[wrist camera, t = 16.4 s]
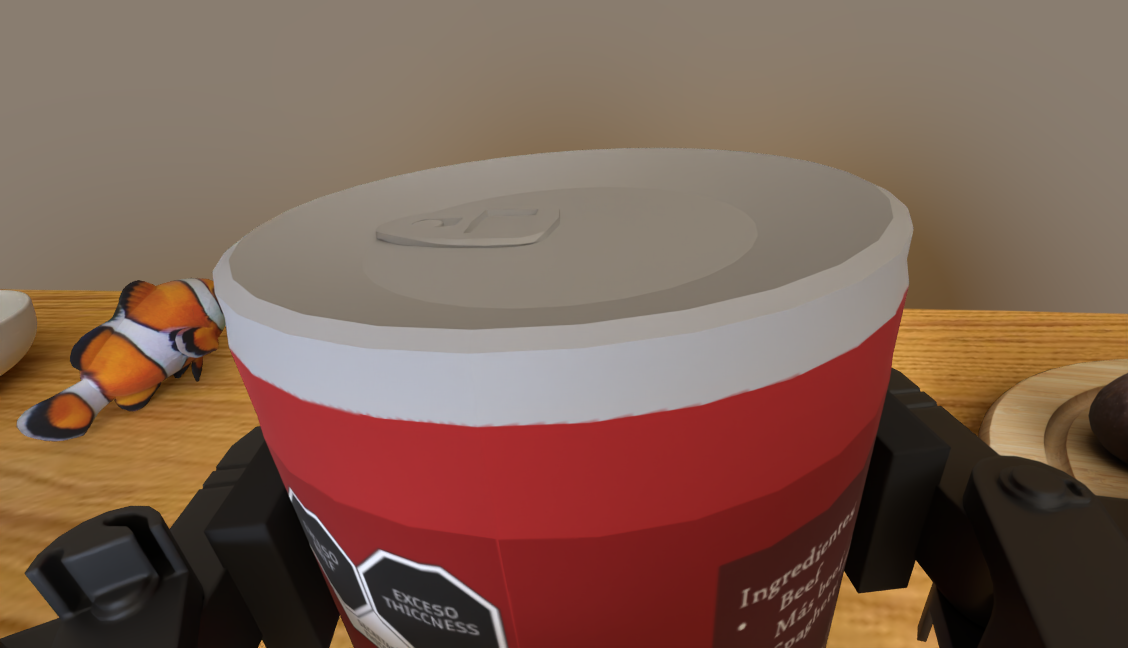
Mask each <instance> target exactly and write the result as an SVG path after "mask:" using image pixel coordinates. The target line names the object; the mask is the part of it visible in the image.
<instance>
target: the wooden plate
mask: <svg viewBox="0 0 1128 648" xmlns="http://www.w3.org/2000/svg"><path fill="white" fill-rule="evenodd" d="M978 437H979V438H980V439H981V440H982V441H984V442H985V443H986V444H987V445H988V446H990V447H991V448H992V449H993V450H994V451H996V452H997V453H998V454H999V455H1002V456H1018V457H1023V458H1027V459H1031V460H1036V461H1040V462H1042V463H1045V464H1047V465H1050V466H1052V467H1054V468H1057V469H1059V470H1062V471H1064V472H1066V473H1067V474H1069V475H1070V476H1072V477H1074V478H1075V479H1077V480H1078V481H1080V482H1082V483H1083V484H1085V485H1086V486H1087V487H1088V488H1089V489H1090V490H1091V491H1092V492H1093V493H1094V494H1095V495H1099V496H1107V497H1116V498H1124V499H1128V359H1116V360H1103V361H1094V362H1085V363H1078V364H1073V365H1068V366H1064V367H1059V368H1055V369H1051V370H1048V371H1045V372H1042V373H1039V374H1037V375H1034V376H1032V377H1029V378H1027V379H1025V380H1022V381H1021V382H1019V383H1018V384H1016V385H1015V386H1013V387H1012V388H1010V389H1009V390H1007V391H1006V392H1005V393H1004V394H1003V395H1002V396H1000V397H999V398H998V399H997V400H996V401H995V402H994V403H993V404H992V406H991V407H990V408H989V410H988V411H987V412H986V414H985V416H984V419H983V422H982V424H981V427H980V430H979V436H978Z"/></svg>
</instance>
